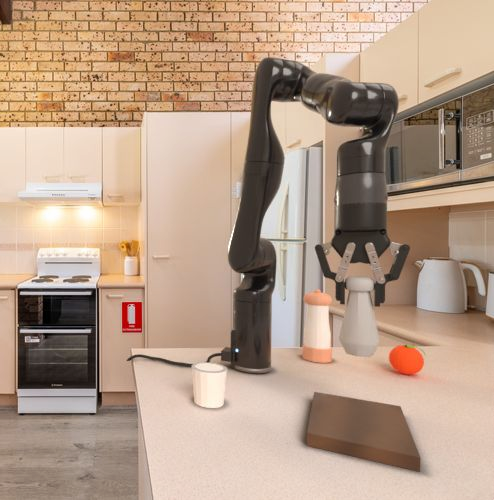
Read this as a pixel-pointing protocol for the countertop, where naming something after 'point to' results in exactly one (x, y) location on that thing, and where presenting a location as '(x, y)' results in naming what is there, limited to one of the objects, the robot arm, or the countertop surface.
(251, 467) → the countertop surface
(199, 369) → the white short cylinder
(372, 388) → the countertop surface
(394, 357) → the clementine
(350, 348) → the salt shaker
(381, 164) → the robot arm
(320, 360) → the pepper shaker
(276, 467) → the countertop surface
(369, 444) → the cutting board
